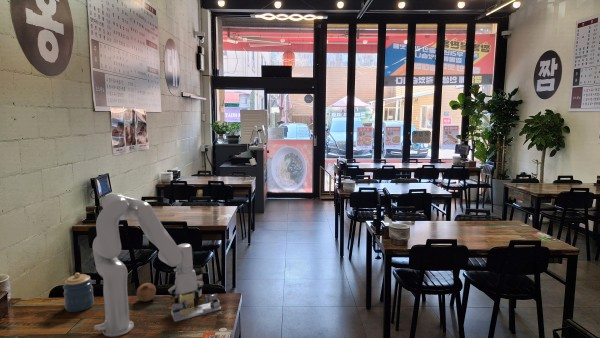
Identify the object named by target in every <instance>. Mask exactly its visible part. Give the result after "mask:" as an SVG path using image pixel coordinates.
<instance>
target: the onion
mask: <svg viewBox="0 0 600 338" xmlns="http://www.w3.org/2000/svg"><path fill="white" fill-rule="evenodd" d="M156 292H157V289H156V286H155V284H153V283H150V282H145V283H143V284H141V285H140V286H138V288H137V289H136V297H137V299H138V300H139V301H141V302H144V303H147V302H150V301H151V300H153V299H154V297H155V296H156Z"/></svg>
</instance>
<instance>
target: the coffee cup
mask: <svg viewBox="0 0 600 338" xmlns="http://www.w3.org/2000/svg"><path fill="white" fill-rule="evenodd" d="M193 270H195V273H196V278H197V280H198V281H202V282H203V273H204V271H203V268H202V266H201V265H193ZM199 285H200V284H198V283H197V288H198V287H199ZM202 290H203V287H202V288H201V290H200V292H199V298H200V297H202V295H203V294H202V293H203V291H202ZM192 292H193V294H194V299H195V291H192Z"/></svg>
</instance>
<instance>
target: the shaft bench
mask: <svg viewBox="0 0 600 338" xmlns="http://www.w3.org/2000/svg"><path fill="white" fill-rule="evenodd" d="M203 301H204V303H202V304H199V305H196V306H195V305H194V307H191V308H187V302H186V300H185V301H183V302H181V303H180V302H179V303H177V304H175V303H174V304H171V309H170V310H171V312H170V315H171V317H172V319H173V321H174V323H175V322H180V321H182V320H184V321H185V320H187V319H190V318H193V317H194V318H195V317H198V316H202V315H205V314H209V313H213V312H217V311H220V310H221V309H222V306H221V305H220V304H221V303H220V302H221V301H220V300H219V295H218V293H214V294H211V295H210V294H209V295H203Z"/></svg>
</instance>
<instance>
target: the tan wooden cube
mask: <svg viewBox="0 0 600 338" xmlns="http://www.w3.org/2000/svg"><path fill="white" fill-rule="evenodd" d="M194 299H195V298H194V294H193V292H188V293H184V294H179V303H181V302H183V301H185V300H186V302H187V308H190V307H195V300H194Z"/></svg>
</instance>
